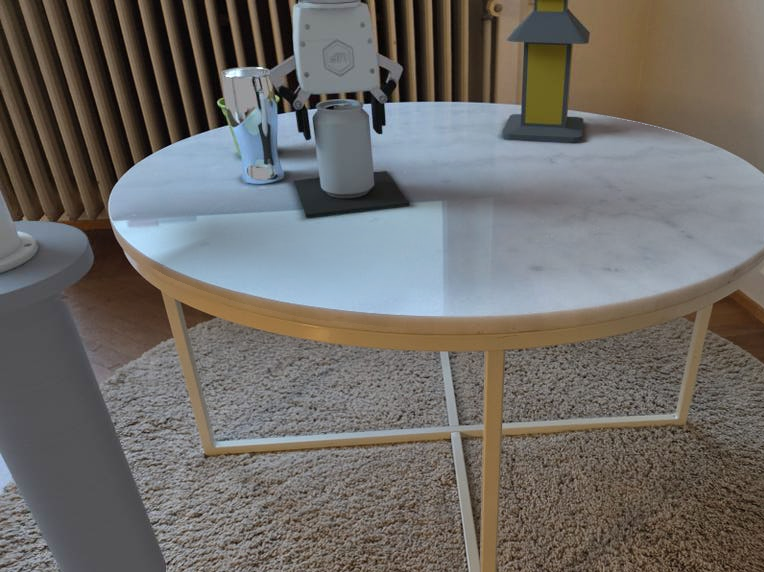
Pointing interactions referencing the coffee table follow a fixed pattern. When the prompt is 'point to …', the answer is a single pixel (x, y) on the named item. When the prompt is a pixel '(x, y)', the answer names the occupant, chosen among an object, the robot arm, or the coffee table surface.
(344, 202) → the mat
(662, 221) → the coffee table surface
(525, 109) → the lantern
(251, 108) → the beer glass
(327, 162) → the can
